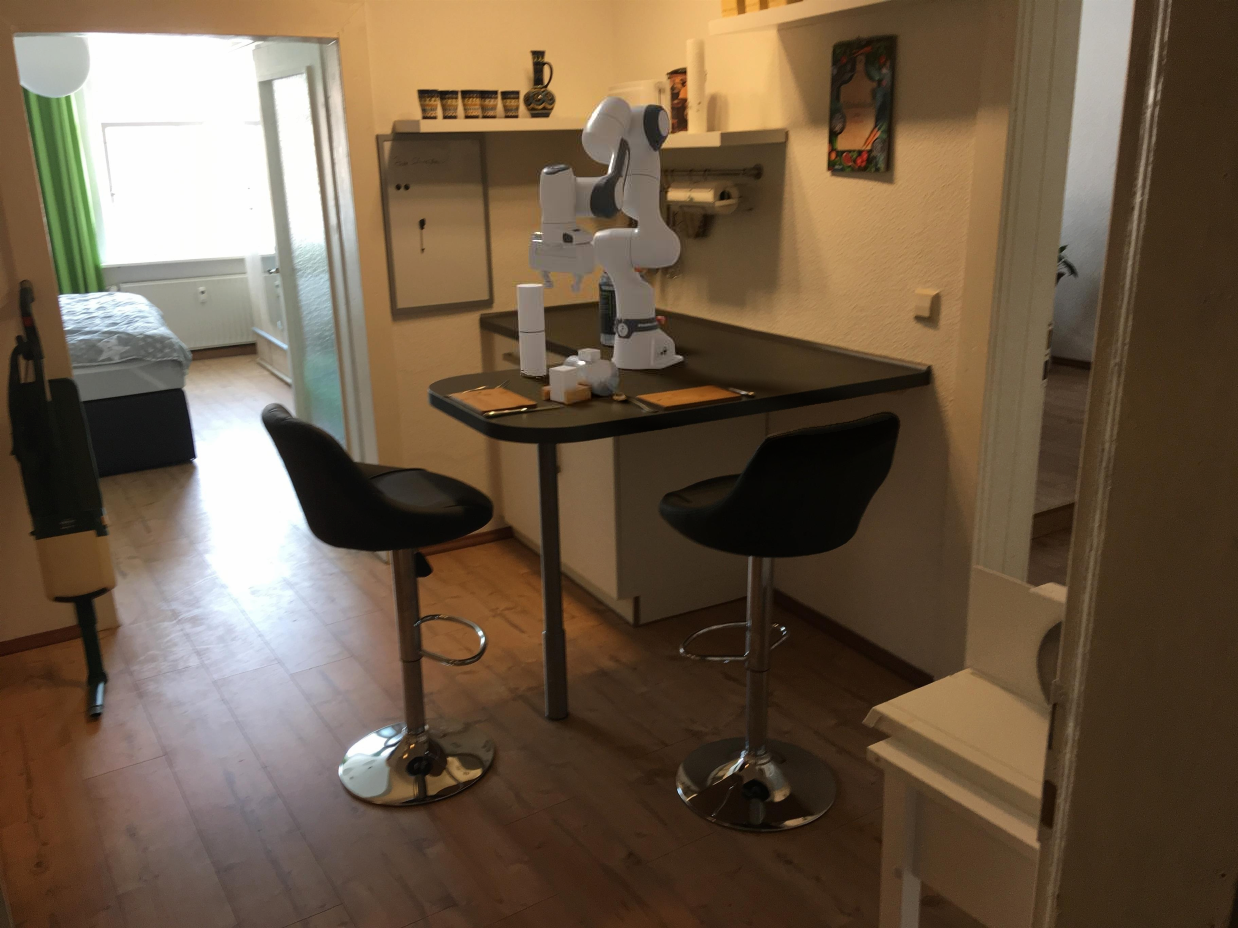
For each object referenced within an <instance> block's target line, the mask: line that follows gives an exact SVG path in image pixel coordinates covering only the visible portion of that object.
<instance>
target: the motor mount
mask: <svg viewBox="0 0 1238 928" xmlns="http://www.w3.org/2000/svg"><path fill="white" fill-rule="evenodd" d="M577 354H578V355H570V356H569V357H567V358H566V359H565V361H564V362H563V364H562V366H563V365H564V366H570V367H576V368H578V389H574V390H570V391H566V392H564V402H563V404H564V405H570V404H575V403H578V402H581V401H585V400H589V399H592V395H596V396H602V397H608V396H611V394H613V393H614V391H616V389H617V387H618V384H619V379H620V373H619V368H618V367H617V366H616V365H615V363H613V362H612V361H611V360H608V359H602V358H601V350H600V349H597V348H596V349H595V348H587V347H586V348H583V349H578V350H577ZM549 399H550V385H548V386H547V385H546V386H543V387H541V400H545V401H546V400H549ZM550 400H551V399H550Z"/></svg>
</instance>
